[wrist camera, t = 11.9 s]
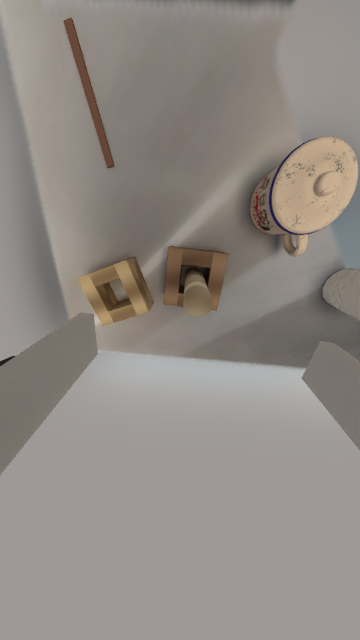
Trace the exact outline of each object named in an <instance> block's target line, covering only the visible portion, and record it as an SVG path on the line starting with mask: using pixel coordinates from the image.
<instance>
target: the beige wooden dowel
mask: <svg viewBox="0 0 360 640" xmlns="http://www.w3.org/2000/svg"><path fill="white" fill-rule="evenodd" d="M183 307H184V309H185V311H186V312H187V313H188V314H189V315H191V316H194V317H201V316H204V315H206V314H207V313H208V312H209V311H210V309H211V307H212V298H211V295H210V293H209V290H208V288H207V285H206V282H205V280H204V277H203V275H202V272H201V270H200V269H199V268H197V267H191V268H189V269H188V270H187V272H186V278H185V288H184V298H183Z"/></svg>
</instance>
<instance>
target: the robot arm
mask: <svg viewBox="0 0 360 640" xmlns="http://www.w3.org/2000/svg"><path fill="white" fill-rule="evenodd" d="M97 354H98V353H97V343H96V333H95V322H94V314H87V313H79V314H78V315H76V316H75V317H73V318H72V319H70V320H69V321H67V322H66V323H65V324H63V325H62V326H60V327H59V328H57V329H56V330H54V331H53V332H51V333H50V334H48V335H47V336H45V337H44V338H42V339H41V340H39V341H38V342H36V343H35V344H33V345H32V346H30V347H29V348H27V349H26V350H24V351H23V352H21V353H20V354H18V355H17V356H12V357H9V358H7V359H5V360H2V361H0V475H1V473H2V472H3V471H4V470H5V468H6V467H7V466H8V465H9V463H10V462H11V461H12V460H13V459H14V457H15V456H16V455H17V454H18V452H19V451H20V450H21V448H22V447H23V446H24V445H25V443H26V442H27V441H28V440H29V439H30V437H31V436H32V435H33V434H34V432H35V431H36V430H37V428H38V427H39V426H40V425H41V424H42V422H43V421H44V420H45V419H46V417H47V416H48V415H49V414H50V412H51V411H52V410H53V409H54V407H55V406H56V405H57V404H58V402H59V401H60V400H61V399H62V398H63V396H64V395H65V394H66V393H67V391H68V390H69V389H70V388H71V386H72V385H73V384H74V382H75V381H76V380H77V379H78V378H79V376H80V375H81V374H82V373H83V371H84V370H85V369H86V368H87V366H88V365H89V364H90V363H91V362H92V360H93V359H94V358H95V357H96V355H97ZM302 379H303V380H304V382H305V383H306V384H307V385H308V387H309V388H310V389H311V390H312V391H313V393H314V394H315V395H316V396H317V398H318V399H319V400H320V402H321V403H322V404H323V405H324V406H325V408H326V409H327V410H328V411H329V413H330V414H331V415H332V416H333V417H334V419H335V420H336V421H337V422H338V424H339V425H340V426H341V427H342V429H343V430H344V431H345V432H346V433H347V435H348V436H349V437H350V439H351V440H352V441H353V442H354V444H355V445H356V446H357V447H358V449H359V450H360V362H359V361H358V360H357V359H355V358H354V357H352V356H351V355H350V354H348V353H347V352H345V351H344V350H343V349H341V348H340V347H338V346H337V345H336V344H334V343H331V342H322V341H320V343H319V345H318V347H317V349H316V351H315V353H314V355H313V357H312V359H311V361H310V363H309V365H308V367H307V369H306V371H305V373H304V375H303V377H302Z"/></svg>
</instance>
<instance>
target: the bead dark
mask: <svg viewBox="0 0 360 640" xmlns="http://www.w3.org/2000/svg"><path fill="white" fill-rule="evenodd" d="M227 259H228V254H226V253H223V252H216V251H208V250H200V249H191V248H183V247H174V246H170V247H168V257H167V270H166V283H165V296H164V304H165V305H174V306H182V307H183V298H184V288H185V287H183V286H180V278H181V269H182V264H184V265H192V266H200V267H207V273H206V279H205V282H206V285H207V288H208V290H209V293H210V295H211V298H212V307H211V309H210V310H216V311H217V307H218V303H219V298H220V293H221V288H222V283H223V278H224V274H225V269H226V264H227Z"/></svg>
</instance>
